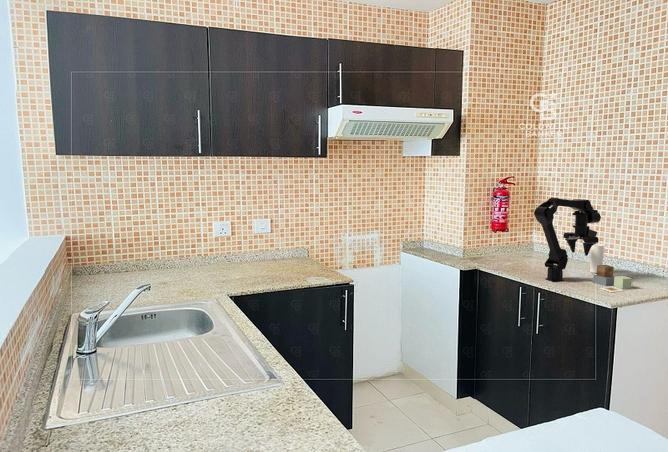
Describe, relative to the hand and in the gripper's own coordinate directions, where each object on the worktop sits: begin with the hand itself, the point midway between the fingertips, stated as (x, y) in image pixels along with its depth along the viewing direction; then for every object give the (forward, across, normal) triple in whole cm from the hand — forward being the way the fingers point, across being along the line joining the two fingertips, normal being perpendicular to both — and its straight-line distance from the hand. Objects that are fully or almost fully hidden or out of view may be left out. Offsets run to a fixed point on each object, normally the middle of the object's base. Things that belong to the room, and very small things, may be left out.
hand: (579, 254), depth 256 cm
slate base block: (+12, -15, -2) cm, 20 cm away
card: (+12, -26, +4) cm, 29 cm away
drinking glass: (+12, +6, -16) cm, 21 cm away
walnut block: (+8, -15, -2) cm, 17 cm away
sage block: (+12, -24, -4) cm, 27 cm away
